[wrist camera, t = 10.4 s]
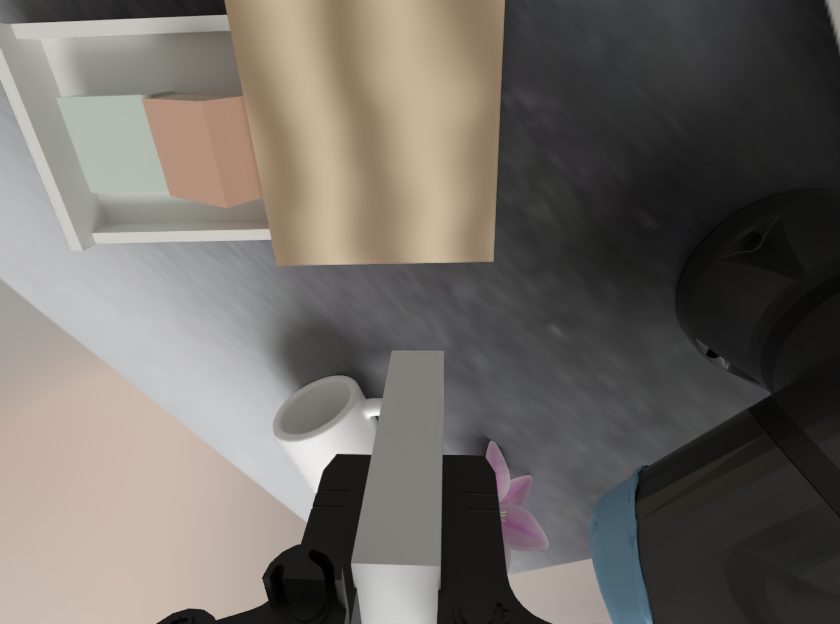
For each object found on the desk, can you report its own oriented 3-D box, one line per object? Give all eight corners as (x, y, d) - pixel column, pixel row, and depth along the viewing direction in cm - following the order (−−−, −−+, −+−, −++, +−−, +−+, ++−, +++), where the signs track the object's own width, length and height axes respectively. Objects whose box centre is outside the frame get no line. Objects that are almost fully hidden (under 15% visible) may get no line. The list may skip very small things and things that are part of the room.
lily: (538, 509, 54) (586, 556, 44) (446, 563, 52) (476, 624, 42) (498, 416, 52) (539, 444, 43) (401, 468, 50) (422, 510, 41)
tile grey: (55, 97, 30) (86, 93, 32) (91, 193, 33) (116, 182, 35) (150, 94, 29) (173, 90, 32) (177, 191, 32) (196, 180, 35)
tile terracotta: (245, 95, 28) (201, 101, 26) (265, 195, 31) (226, 208, 29) (185, 93, 31) (141, 98, 29) (208, 185, 34) (170, 195, 32)
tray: (256, 16, 30) (233, 12, 27) (293, 227, 37) (278, 246, 34) (28, 25, 31) (-23, 23, 27) (105, 232, 38) (72, 251, 34)
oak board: (495, -14, 29) (505, -24, 25) (486, 235, 37) (493, 261, 33) (253, -3, 30) (222, -11, 25) (295, 240, 38) (276, 265, 33)
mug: (331, 459, 50) (314, 527, 43) (286, 387, 45) (258, 450, 38) (441, 432, 47) (442, 499, 40) (405, 352, 43) (399, 413, 36)
